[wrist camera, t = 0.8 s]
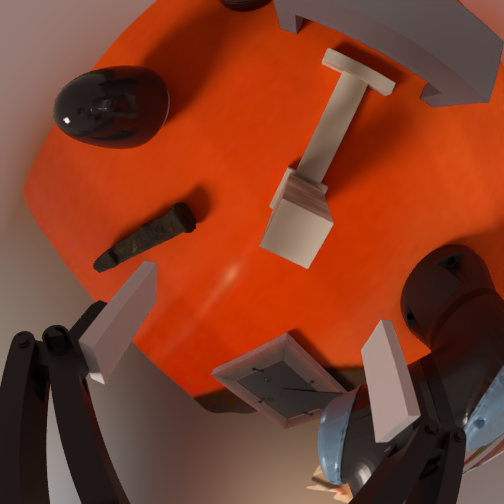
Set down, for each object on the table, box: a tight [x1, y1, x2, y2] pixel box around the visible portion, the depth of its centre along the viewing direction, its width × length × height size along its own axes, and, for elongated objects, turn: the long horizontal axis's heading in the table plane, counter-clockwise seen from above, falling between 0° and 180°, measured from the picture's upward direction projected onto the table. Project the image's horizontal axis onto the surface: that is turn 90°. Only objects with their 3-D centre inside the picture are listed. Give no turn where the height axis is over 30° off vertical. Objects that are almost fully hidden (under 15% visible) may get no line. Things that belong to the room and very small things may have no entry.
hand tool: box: [93, 202, 196, 273], centre depth 36 cm, size 19×4×5 cm, turn 114°
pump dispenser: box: [54, 65, 170, 149], centre depth 23 cm, size 10×10×15 cm
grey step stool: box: [273, 0, 504, 107], centre depth 17 cm, size 20×8×12 cm, turn 67°
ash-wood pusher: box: [260, 48, 396, 269], centre depth 23 cm, size 8×20×14 cm, turn 157°
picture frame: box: [211, 332, 347, 429], centre depth 45 cm, size 16×2×22 cm
